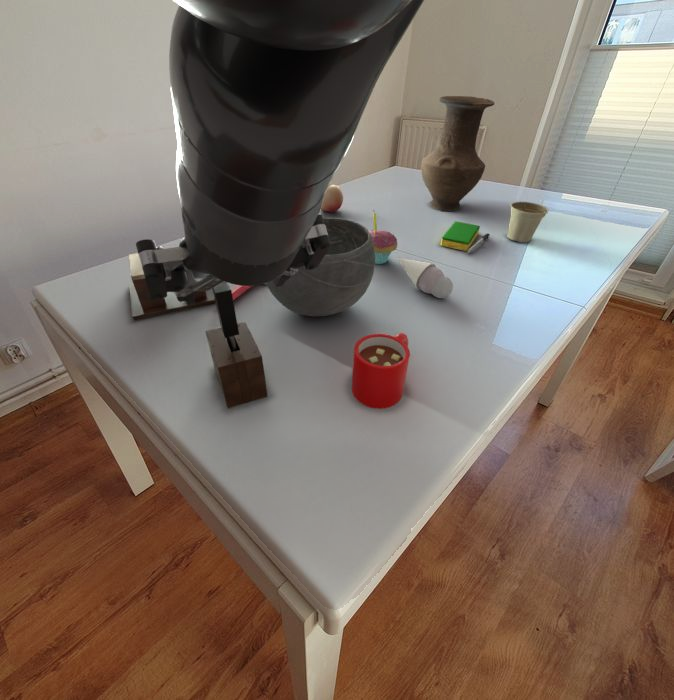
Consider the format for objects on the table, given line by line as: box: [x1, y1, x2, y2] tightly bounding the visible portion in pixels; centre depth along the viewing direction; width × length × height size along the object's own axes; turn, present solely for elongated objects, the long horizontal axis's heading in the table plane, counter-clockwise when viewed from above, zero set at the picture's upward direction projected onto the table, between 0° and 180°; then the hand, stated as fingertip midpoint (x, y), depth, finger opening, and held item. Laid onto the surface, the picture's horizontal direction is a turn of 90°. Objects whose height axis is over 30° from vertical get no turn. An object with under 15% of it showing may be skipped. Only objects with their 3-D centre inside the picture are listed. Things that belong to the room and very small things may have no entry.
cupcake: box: [369, 209, 398, 265], centre depth 90 cm, size 9×8×12 cm
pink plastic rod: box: [231, 283, 267, 301], centre depth 82 cm, size 24×2×5 cm
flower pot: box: [506, 201, 550, 243], centre depth 103 cm, size 9×9×9 cm
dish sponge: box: [440, 221, 481, 252], centre depth 103 cm, size 7×14×2 cm, turn 152°
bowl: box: [265, 217, 376, 317], centre depth 72 cm, size 21×21×15 cm
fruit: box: [320, 184, 344, 213], centre depth 117 cm, size 8×8×8 cm
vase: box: [420, 95, 495, 212], centre depth 116 cm, size 19×19×30 cm
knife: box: [467, 233, 490, 254], centre depth 99 cm, size 15×1×2 cm, turn 143°
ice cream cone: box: [397, 257, 454, 299], centre depth 81 cm, size 6×6×15 cm
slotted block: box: [128, 252, 216, 322], centre depth 76 cm, size 16×13×8 cm
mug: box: [351, 332, 411, 410], centre depth 57 cm, size 8×12×8 cm, turn 146°
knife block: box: [205, 321, 268, 410], centre depth 56 cm, size 6×9×8 cm, turn 25°
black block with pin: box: [212, 282, 239, 352], centre depth 53 cm, size 2×3×17 cm, turn 25°
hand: (233, 285), depth 37 cm, fingers open, 8 cm apart
